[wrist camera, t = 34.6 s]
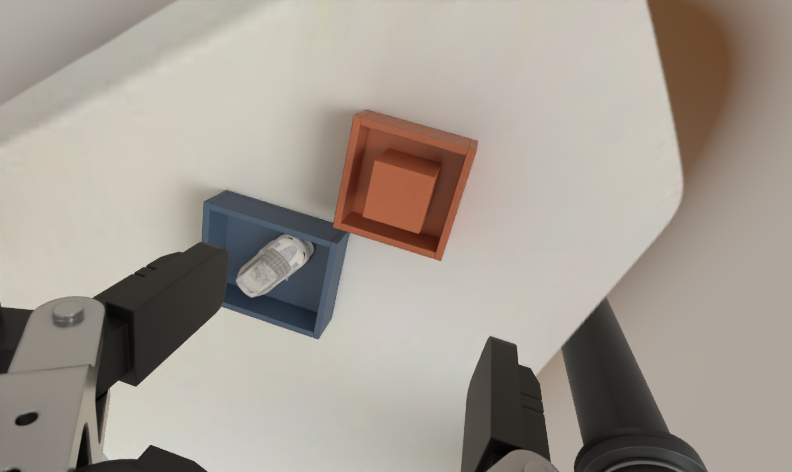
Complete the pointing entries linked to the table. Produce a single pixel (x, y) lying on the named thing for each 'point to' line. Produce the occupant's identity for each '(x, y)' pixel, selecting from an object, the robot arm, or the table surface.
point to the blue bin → (251, 231)
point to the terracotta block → (401, 190)
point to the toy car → (274, 264)
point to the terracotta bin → (385, 132)
